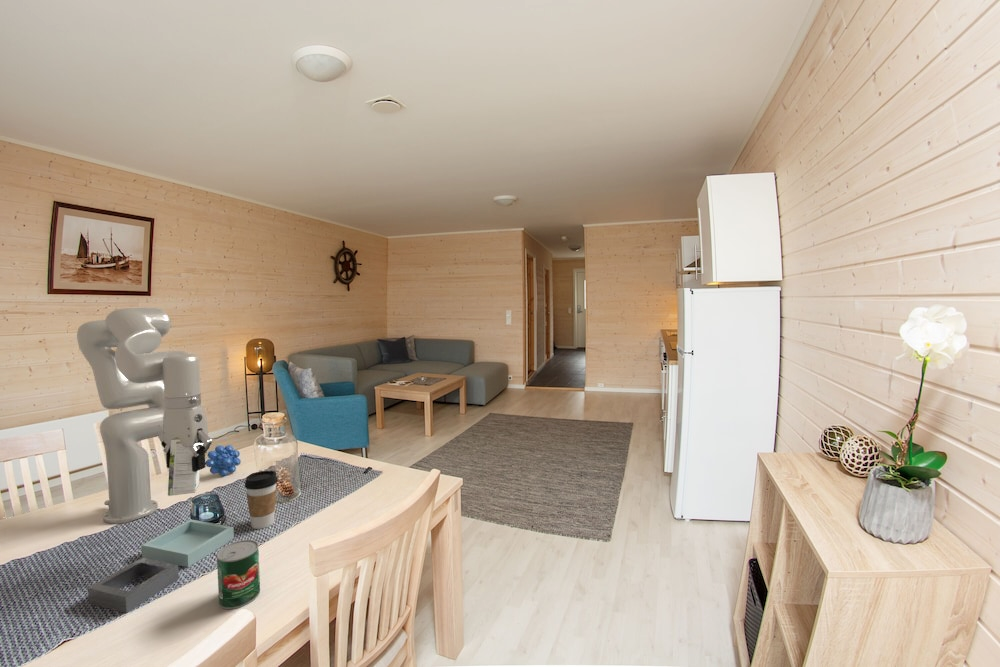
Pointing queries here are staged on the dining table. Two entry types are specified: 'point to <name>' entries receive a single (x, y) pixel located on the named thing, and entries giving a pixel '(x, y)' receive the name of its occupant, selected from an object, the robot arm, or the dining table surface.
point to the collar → (125, 601)
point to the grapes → (223, 460)
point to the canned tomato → (238, 574)
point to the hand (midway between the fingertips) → (186, 467)
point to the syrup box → (182, 470)
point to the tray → (187, 543)
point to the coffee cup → (261, 498)
